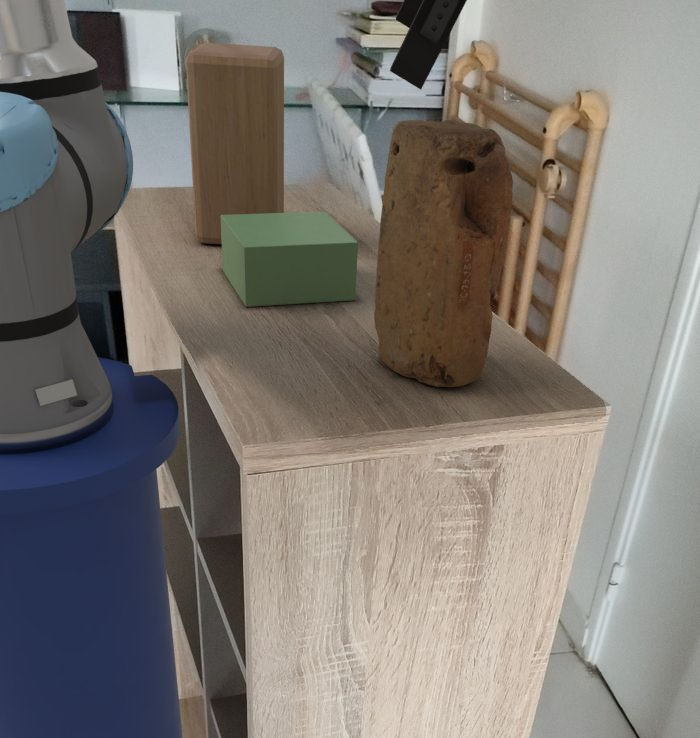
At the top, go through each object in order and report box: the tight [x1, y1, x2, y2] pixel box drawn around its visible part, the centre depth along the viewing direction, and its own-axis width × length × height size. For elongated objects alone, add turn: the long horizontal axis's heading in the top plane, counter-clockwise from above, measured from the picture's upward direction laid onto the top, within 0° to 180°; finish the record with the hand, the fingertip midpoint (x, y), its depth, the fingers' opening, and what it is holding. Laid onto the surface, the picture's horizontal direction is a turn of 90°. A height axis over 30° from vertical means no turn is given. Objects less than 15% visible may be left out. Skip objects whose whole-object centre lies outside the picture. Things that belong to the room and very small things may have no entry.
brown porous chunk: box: [373, 119, 514, 388], centre depth 76 cm, size 11×8×20 cm
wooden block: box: [185, 42, 285, 246], centre depth 106 cm, size 10×10×20 cm
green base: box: [221, 211, 359, 308], centre depth 97 cm, size 12×12×6 cm
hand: (407, 51), depth 73 cm, fingers open, 13 cm apart
